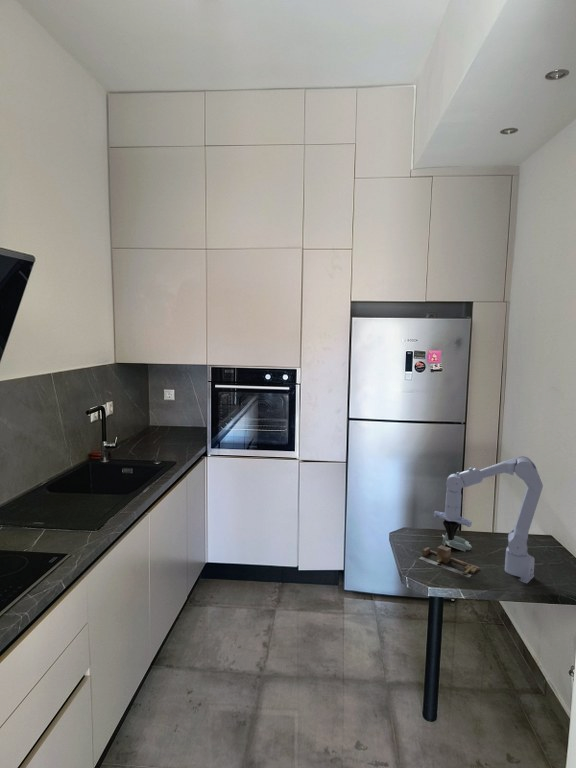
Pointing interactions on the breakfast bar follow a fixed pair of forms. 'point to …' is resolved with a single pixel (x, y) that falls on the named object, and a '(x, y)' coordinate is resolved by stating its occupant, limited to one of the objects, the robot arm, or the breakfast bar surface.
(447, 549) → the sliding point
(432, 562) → the gauge board
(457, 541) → the metal bracket
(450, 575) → the breakfast bar surface
